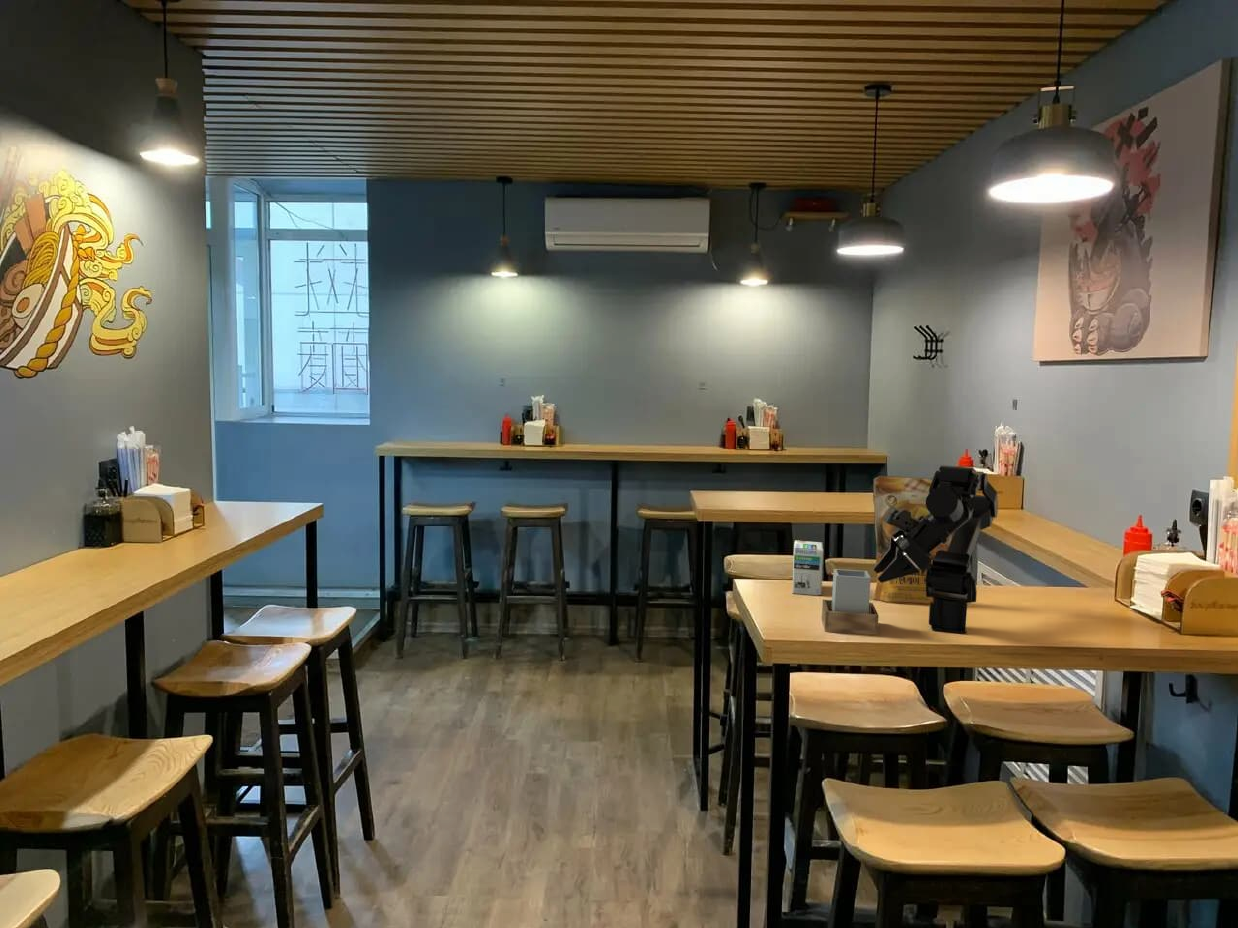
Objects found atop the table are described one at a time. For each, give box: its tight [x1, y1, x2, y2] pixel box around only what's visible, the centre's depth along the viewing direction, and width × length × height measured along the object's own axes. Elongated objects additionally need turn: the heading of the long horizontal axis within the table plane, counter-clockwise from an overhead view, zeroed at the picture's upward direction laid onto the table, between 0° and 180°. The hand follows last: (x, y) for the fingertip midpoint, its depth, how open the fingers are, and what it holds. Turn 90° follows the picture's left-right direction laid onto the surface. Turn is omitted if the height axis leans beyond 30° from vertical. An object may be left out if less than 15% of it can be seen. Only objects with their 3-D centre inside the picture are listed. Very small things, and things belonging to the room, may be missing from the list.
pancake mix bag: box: [872, 475, 954, 606], centre depth 200 cm, size 7×19×28 cm, turn 84°
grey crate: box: [831, 568, 871, 614], centre depth 178 cm, size 6×6×10 cm
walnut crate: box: [821, 599, 879, 637], centre depth 178 cm, size 10×10×4 cm
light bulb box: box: [791, 539, 824, 596], centre depth 209 cm, size 11×7×11 cm, turn 168°
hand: (877, 575), depth 177 cm, fingers open, 9 cm apart
